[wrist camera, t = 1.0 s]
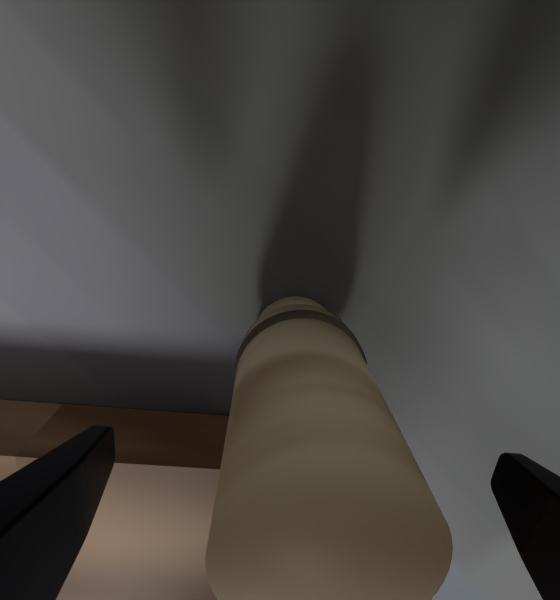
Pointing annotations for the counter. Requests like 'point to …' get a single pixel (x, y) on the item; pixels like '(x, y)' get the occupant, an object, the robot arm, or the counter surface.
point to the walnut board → (133, 496)
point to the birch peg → (318, 475)
